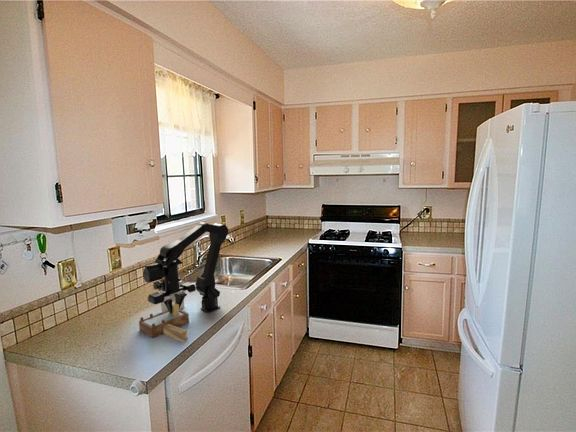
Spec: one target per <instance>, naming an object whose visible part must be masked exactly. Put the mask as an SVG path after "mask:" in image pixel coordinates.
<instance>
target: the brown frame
mask: <svg viewBox="0 0 576 432" xmlns="http://www.w3.org/2000/svg"><path fill="white" fill-rule="evenodd" d="M167 312H169V311H168V310H167V311H164V312H162V311H161V312H159V313H157V314H153V313H152V312H151V313H149V316H148V317H146V318H144V317H143V316H141V317H139V319H140V320H139V321H138V325H139V331H140V332H142V333H143V334H145V335H147V336H148V337H149V338H152V339H154V338H156V337H159V336H161V335H164V332H163V326H164V325H167V324H171V325H173V326H176V327H179V328H181V326H184V325H186V324H189V323H190V320H189V319H190V318H189V313H188V312H186V311H184V310H182V309H179V312H180V313H182V314H183V315H181V316H178V317H176V318H173V319H171V320H168V321H166V322H165V320H164V319H163V320H162V323H161V324H158V325H156V326H155V324H154V323H153V324H152V326H150V325H148V324H147V323H145V322H143V321H146V320H148V319H151V318H154V317H156V316H159V315H162V314H164V313H167Z"/></svg>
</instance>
